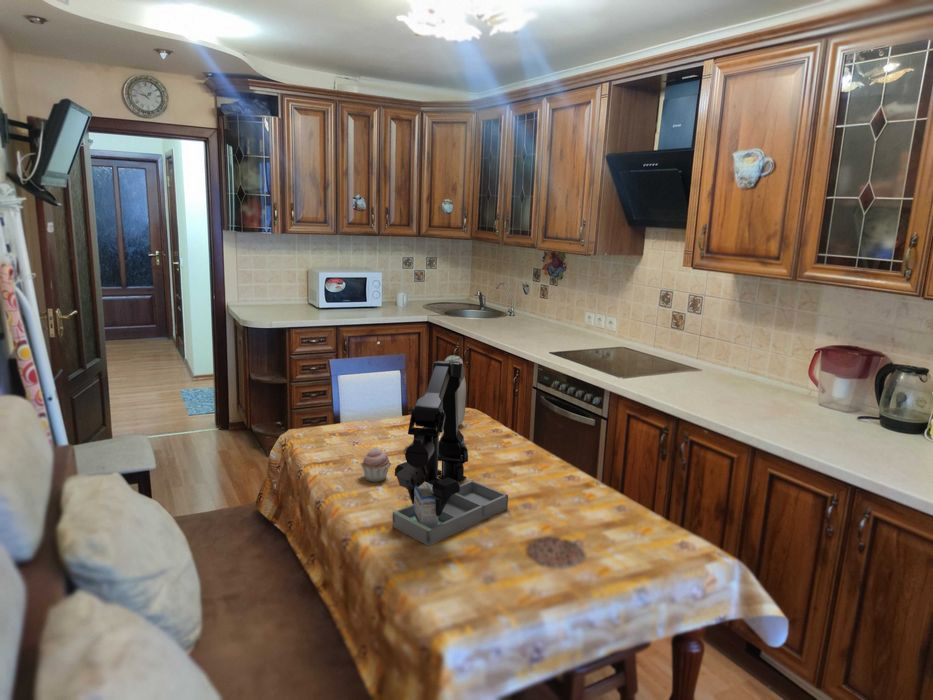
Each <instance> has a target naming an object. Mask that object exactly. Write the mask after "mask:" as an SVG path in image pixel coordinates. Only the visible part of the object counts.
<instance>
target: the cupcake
mask: <svg viewBox="0 0 933 700" xmlns="http://www.w3.org/2000/svg"><path fill="white" fill-rule="evenodd" d="M389 459H390V458H389V457H388V455H387V454H386V452H384V451H382V450H380V449H379V448H378V447H377V446H375V447H373V448H371V449H370V450H369V451H368V452H367V454H365V456H364V458H363V460H362V462H360V466H361V468H362V470H363V474H364V478H365V480H366V481H368V482H371V483H372V482H373V483H378V482H379V483H380V482H383V481H384V480H385V481H386V479H387V475H388V473H389V469H390V467H391V466H392V462H390V460H389Z"/></svg>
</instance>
